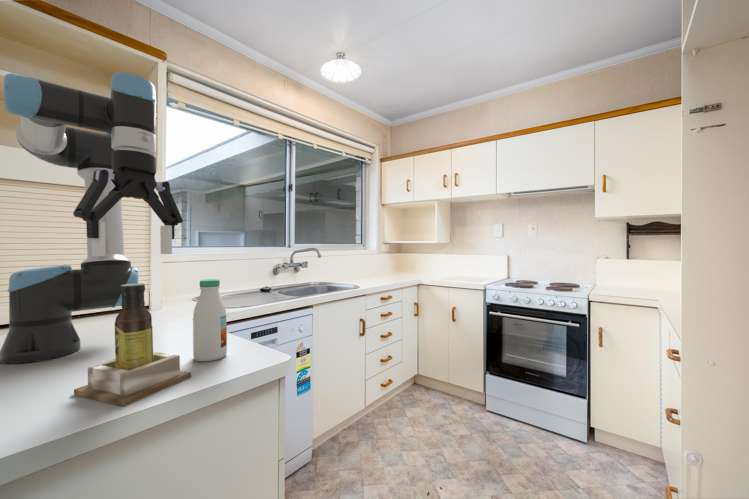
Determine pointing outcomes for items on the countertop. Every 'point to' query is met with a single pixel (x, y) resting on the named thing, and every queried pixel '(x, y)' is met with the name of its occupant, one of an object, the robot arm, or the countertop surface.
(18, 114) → the robot arm
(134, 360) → the sauce bottle
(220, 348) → the milk bottle
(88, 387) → the socket board
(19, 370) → the countertop surface
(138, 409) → the countertop surface
